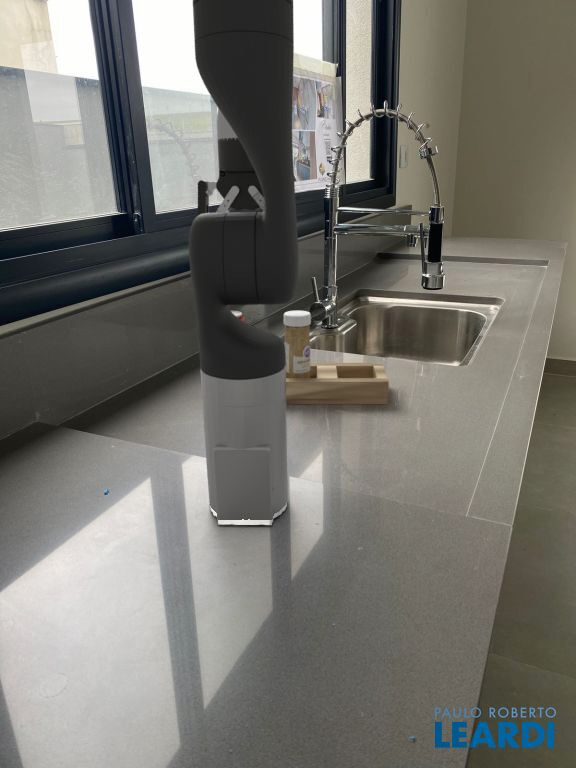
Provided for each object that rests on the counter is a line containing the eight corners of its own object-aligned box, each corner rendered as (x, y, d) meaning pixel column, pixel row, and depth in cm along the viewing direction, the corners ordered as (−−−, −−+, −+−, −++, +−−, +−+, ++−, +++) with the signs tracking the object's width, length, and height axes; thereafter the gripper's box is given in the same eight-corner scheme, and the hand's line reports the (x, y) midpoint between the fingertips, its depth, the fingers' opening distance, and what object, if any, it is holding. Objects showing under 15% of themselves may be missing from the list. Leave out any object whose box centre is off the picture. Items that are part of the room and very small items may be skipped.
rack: (387, 404, 100) (388, 381, 99) (267, 404, 101) (267, 381, 100) (381, 383, 110) (382, 362, 108) (271, 383, 111) (270, 363, 109)
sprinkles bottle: (306, 394, 103) (305, 316, 98) (280, 391, 104) (279, 314, 99) (313, 385, 107) (314, 310, 102) (289, 382, 108) (288, 308, 104)
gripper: (189, 136, 84) (196, 255, 89) (291, 134, 83) (292, 254, 88) (199, 139, 91) (205, 249, 96) (294, 137, 90) (295, 248, 95)
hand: (247, 251), depth 92 cm, fingers open, 8 cm apart
